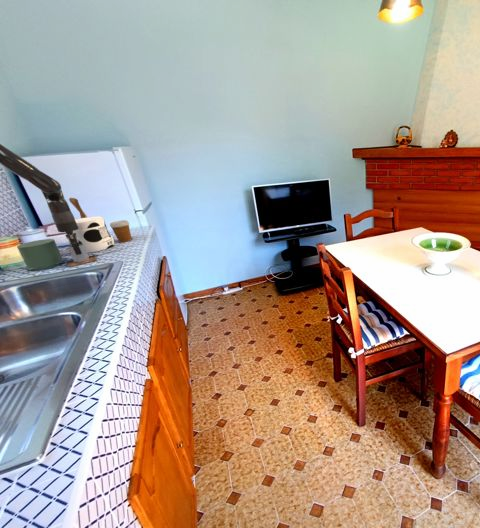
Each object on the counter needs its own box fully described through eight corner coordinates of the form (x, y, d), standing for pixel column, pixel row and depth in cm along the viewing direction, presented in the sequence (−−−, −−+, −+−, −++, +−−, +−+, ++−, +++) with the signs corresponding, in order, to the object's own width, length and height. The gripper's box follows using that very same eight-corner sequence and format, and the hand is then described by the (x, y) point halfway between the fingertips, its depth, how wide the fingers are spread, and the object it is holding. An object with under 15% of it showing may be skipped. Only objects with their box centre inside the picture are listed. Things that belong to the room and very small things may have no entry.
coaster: (68, 267, 145) (68, 266, 144) (67, 262, 152) (66, 261, 152) (97, 260, 152) (96, 259, 151) (94, 256, 159) (93, 255, 159)
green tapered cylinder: (27, 273, 140) (14, 249, 135) (27, 266, 149) (16, 244, 144) (66, 264, 149) (56, 241, 144) (64, 258, 158) (54, 237, 153)
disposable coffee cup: (114, 244, 178) (106, 225, 174) (118, 240, 186) (112, 221, 182) (132, 242, 181) (125, 222, 177) (136, 237, 190) (130, 219, 185)
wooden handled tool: (89, 247, 175) (69, 199, 165) (86, 241, 188) (67, 196, 178) (103, 244, 180) (85, 197, 169) (99, 238, 193) (82, 195, 182)
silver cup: (74, 263, 148) (68, 248, 145) (73, 261, 152) (67, 246, 149) (90, 260, 152) (84, 245, 149) (88, 257, 156) (82, 243, 153)
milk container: (77, 251, 168) (63, 220, 162) (114, 244, 179) (103, 214, 172) (77, 259, 156) (63, 225, 149) (117, 250, 166) (105, 218, 160)
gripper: (53, 220, 146) (67, 251, 152) (55, 224, 137) (69, 257, 143) (73, 217, 151) (86, 247, 157) (76, 221, 142) (89, 253, 148)
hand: (78, 252), depth 150 cm, fingers open, 8 cm apart
